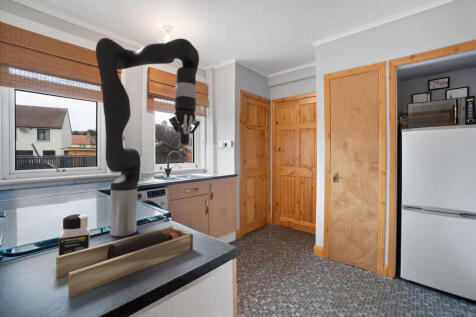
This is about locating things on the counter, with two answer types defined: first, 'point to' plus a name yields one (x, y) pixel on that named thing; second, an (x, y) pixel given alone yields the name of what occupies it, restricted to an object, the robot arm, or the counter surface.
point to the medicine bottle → (74, 234)
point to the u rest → (117, 261)
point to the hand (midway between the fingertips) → (184, 144)
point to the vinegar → (138, 244)
